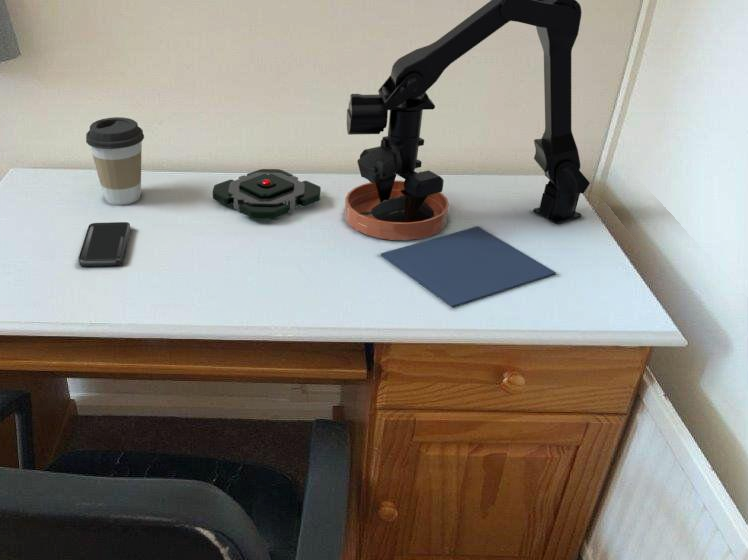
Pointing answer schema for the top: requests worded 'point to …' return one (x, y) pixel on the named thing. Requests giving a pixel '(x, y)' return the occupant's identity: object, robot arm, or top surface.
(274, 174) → the clover-shaped pad
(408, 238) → the terracotta plant saucer
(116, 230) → the phone
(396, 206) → the gaming mouse
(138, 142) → the coffee cup
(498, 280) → the mouse mat
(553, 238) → the top surface
